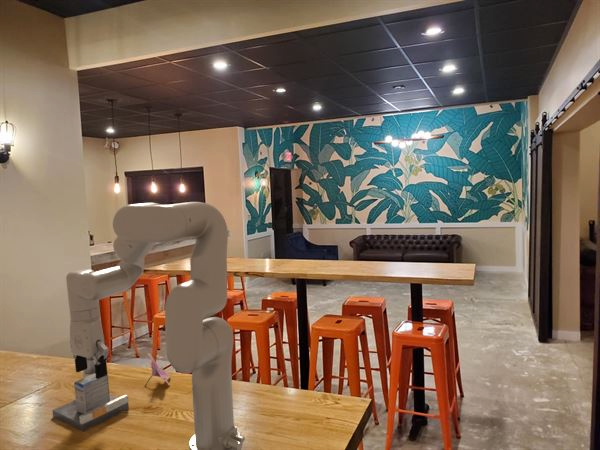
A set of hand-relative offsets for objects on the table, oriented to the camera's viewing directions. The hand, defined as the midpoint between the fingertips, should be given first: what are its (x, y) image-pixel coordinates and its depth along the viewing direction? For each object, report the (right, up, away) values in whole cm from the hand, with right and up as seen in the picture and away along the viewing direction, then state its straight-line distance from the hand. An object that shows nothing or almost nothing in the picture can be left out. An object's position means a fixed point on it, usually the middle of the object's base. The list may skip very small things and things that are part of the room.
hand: (91, 373), depth 131 cm
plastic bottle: (-8, -10, +20) cm, 24 cm away
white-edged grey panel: (-1, -12, +2) cm, 12 cm away
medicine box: (0, -10, +1) cm, 10 cm away
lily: (+13, -10, +19) cm, 25 cm away
